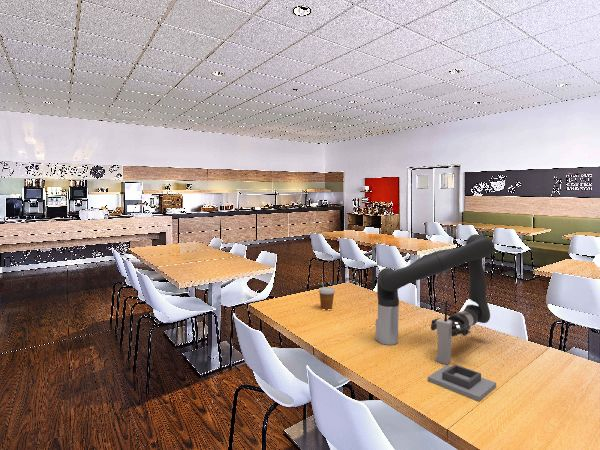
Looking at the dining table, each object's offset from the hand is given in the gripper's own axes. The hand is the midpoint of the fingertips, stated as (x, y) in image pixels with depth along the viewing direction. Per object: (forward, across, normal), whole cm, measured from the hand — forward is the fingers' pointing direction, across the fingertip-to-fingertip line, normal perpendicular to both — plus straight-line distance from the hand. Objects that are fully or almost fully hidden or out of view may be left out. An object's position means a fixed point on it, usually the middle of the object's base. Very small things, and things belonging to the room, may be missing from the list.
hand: (442, 330), depth 147 cm
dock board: (+10, +13, +13) cm, 21 cm away
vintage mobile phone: (-2, 0, +13) cm, 13 cm away
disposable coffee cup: (-17, -79, +13) cm, 82 cm away
